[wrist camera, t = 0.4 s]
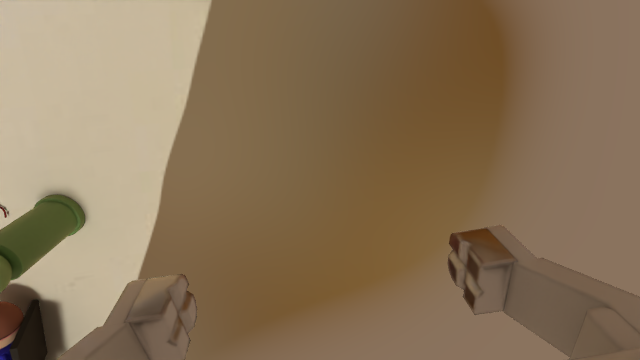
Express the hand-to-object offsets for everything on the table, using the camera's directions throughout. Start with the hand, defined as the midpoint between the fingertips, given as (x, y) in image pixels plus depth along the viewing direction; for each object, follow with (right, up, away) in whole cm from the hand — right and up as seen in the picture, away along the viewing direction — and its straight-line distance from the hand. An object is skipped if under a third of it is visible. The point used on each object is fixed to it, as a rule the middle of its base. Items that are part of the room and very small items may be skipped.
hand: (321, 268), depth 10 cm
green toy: (-27, -1, +25) cm, 37 cm away
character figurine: (-36, -16, +32) cm, 51 cm away
